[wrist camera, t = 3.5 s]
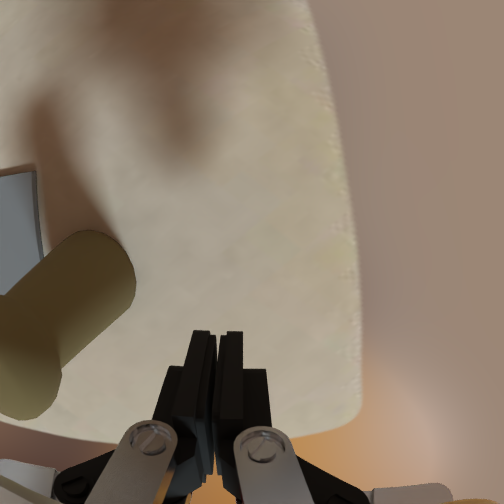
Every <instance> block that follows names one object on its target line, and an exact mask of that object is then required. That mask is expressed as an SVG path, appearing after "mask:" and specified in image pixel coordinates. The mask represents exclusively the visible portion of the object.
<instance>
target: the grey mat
mask: <svg viewBox="0 0 504 504" xmlns="http://www.w3.org/2000/svg"><path fill="white" fill-rule="evenodd" d="M43 258H44V256H43V249H42V242H41V234H40V226H39V216H38V204H37V188H36V171H31V172H25V173H19V174H14V175H8V176H3V177H0V295H5V294H6V293H7V292H8V291H9V290H10V289H11V288H12V287H13V286H14V285H15V284H16V283H17V282H18V281H19V280H20V279H21V278H22V277H23V276H25V275H26V274H27V273H28V272H29V271H30V270H31V269H32V268H33V267H34V266H35V265H36V264H38V263H39V262H40V261H41V260H42V259H43Z"/></svg>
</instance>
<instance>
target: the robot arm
mask: <svg viewBox="0 0 504 504" xmlns="http://www.w3.org/2000/svg"><path fill="white" fill-rule="evenodd" d="M214 452H215V457H216V465H217V473H218V475H222V480H223V487H224V488H225V489H226V490H227V491H229V492H230V493H231V494H232V495H234V496H235V497H236V504H499V503H497V502H495V501H492V500H487V499H463V500H457V501H453V496H452V494H451V492H450V490H449V489H448V488H447V487H446V486H445V485H442V484H440V483H428V484H420V485H412V486H403V487H390V488H374V489H373V490H372V491H361V490H360V489H358V488H357V487H354V486H352V485H350V484H348V483H346V482H344V481H342V480H340V479H338V478H336V477H334V476H332V475H331V474H329V473H327V472H325V471H323V470H321V469H319V468H318V467H316V466H314V465H312V464H310V463H309V462H307V461H305V460H303V459H301V458H300V457H298V456H297V455H296V454H295V452H294V449H293V446H292V444H291V441H290V440H289V438H288V436H287V435H285V434H284V433H283V432H282V431H280V430H278V429H276V428H272V423H271V413H270V403H269V393H268V384H267V374H266V369H243V332H242V331H227V335H221V337H220V345H219V353H218V361H217V344H216V335H210V331H202V330H194V331H193V334H192V337H191V341H190V345H189V348H188V352H187V356H186V359H185V363H184V366H169V368H168V371H167V374H166V377H165V380H164V383H163V386H162V389H161V392H160V395H159V398H158V402H157V405H156V408H155V411H154V414H153V418H152V420H145V421H141V422H138V423H135V424H134V425H132V426H131V427H130V428H129V429H128V430H127V431H126V432H125V434H124V436H123V437H122V439H121V441H120V443H119V444H118V446H117V448H116V449H115V450H112V451H110V452H108V453H105V454H103V455H101V456H98V457H96V458H93V459H91V460H88V461H86V462H84V463H81V464H78V465H76V466H73V467H70V468H68V469H66V470H64V471H62V472H57V471H56V469H54V468H48V467H42V466H36V465H32V464H27V463H22V462H18V461H14V460H9V459H1V460H0V504H190V501H191V498H192V492H193V491H194V490H196V489H197V488H199V487H201V486H202V482H203V483H206V474H209V475H212V474H213V464H214Z"/></svg>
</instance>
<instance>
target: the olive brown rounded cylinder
mask: <svg viewBox="0 0 504 504" xmlns="http://www.w3.org/2000/svg"><path fill="white" fill-rule="evenodd" d="M135 291H136V278H135V273H134V268H133V266H132V264H131V262H130V260H129V258H128V256H127V254H126V252H125V251H124V250H123V249H122V248H121V247H120V246H119V244H118V243H117V242H116V241H115V240H113V239H111V238H110V237H108V236H107V235H105V234H104V233H100V232H96V231H92V230H86V231H78V232H76V233H75V234H73V235H71V236H69V237H68V238H67V239H65V240H64V241H63V242H62V243H61V244H59V245H58V246H57V247H56V248H55V249H53V250H52V251H51V252H50V253H49V254H48V255H47V256H45V257H44V258H43V259H42V260H41V261H40V262H39V263H38V264H36V265H35V266H34V267H33V268H32V269H31V270H30V271H29V272H28V273H27V274H26V275H25V276H23V277H22V278H21V279H20V280H19V281H18V282H17V283H16V284H15V285H14V286H13V287H12V288H11V289H10V290H9V291H8V292H7V293H6V294H5V295H0V413H2V414H3V415H6V416H8V417H11V418H13V419H16V420H30V419H34V418H37V417H38V416H40V415H41V414H42V413H43V412H45V411H46V410H47V409H48V408H49V407H50V406H51V405H52V403H53V402H54V400H55V399H56V397H57V393H58V390H59V386H60V382H61V378H62V372H61V369H62V368H63V367H64V366H65V365H66V364H67V363H68V362H69V361H70V360H71V359H73V358H74V357H75V356H76V355H77V354H78V353H79V352H80V351H81V350H82V349H84V348H85V347H86V346H87V345H88V344H89V343H90V342H91V341H92V340H94V339H95V338H96V337H97V336H98V335H99V334H100V333H101V332H103V331H104V330H105V329H106V328H107V327H108V326H109V325H111V324H112V323H113V322H114V321H115V320H116V319H117V318H119V317H120V316H121V315H122V314H123V313H124V312H125V311H126V310H127V309H128V308H129V307H130V306H131V303H132V301H133V299H134V297H135Z"/></svg>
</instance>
